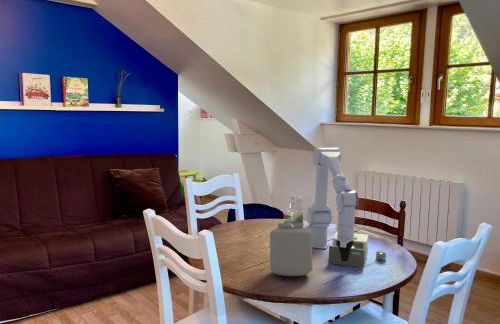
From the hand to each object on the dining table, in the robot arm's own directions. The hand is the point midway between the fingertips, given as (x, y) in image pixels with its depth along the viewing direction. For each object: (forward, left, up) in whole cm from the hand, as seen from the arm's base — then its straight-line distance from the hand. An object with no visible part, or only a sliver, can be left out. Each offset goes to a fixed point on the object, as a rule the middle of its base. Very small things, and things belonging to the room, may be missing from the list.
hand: (344, 260), depth 150 cm
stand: (+12, +16, -4) cm, 20 cm away
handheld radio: (-30, +43, -4) cm, 53 cm away
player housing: (0, +19, -4) cm, 19 cm away
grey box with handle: (0, +10, -4) cm, 10 cm away
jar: (-18, -9, -4) cm, 21 cm away
